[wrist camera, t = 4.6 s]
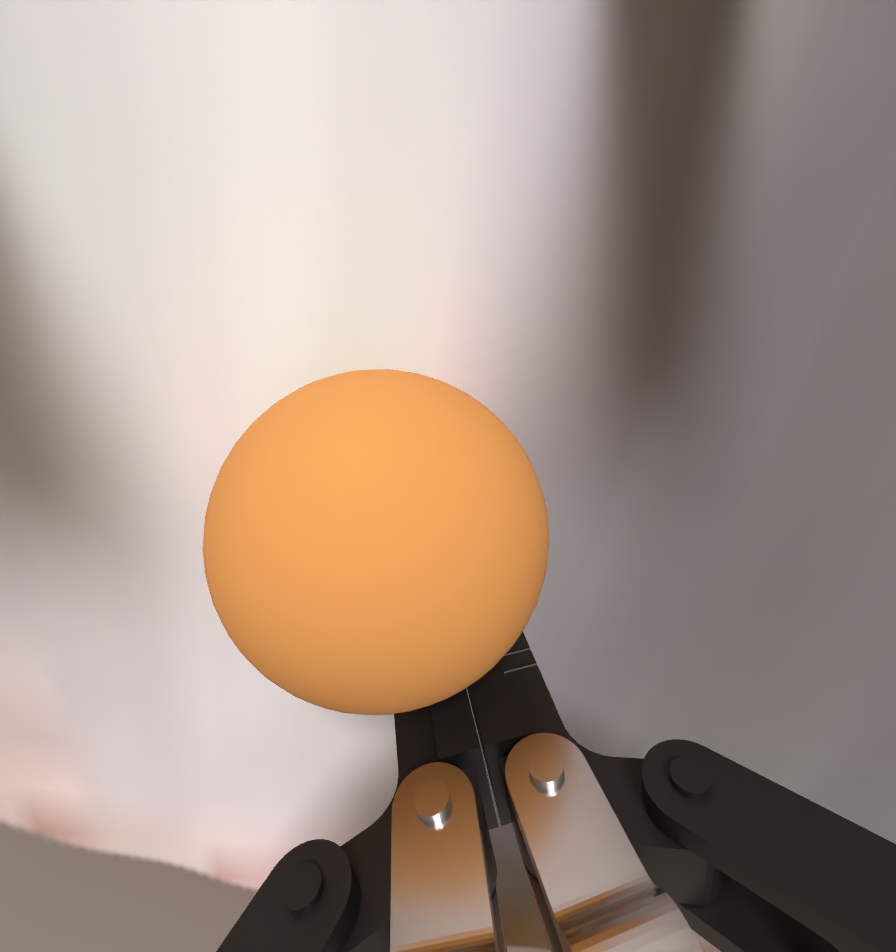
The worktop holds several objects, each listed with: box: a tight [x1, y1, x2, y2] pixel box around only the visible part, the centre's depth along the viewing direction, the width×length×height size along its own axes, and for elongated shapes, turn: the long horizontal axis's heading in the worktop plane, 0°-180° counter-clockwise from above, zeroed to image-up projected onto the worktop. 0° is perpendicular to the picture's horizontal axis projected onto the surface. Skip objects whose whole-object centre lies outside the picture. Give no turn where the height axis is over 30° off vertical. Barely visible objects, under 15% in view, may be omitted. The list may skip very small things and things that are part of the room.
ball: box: [203, 370, 549, 715], centre depth 8 cm, size 6×6×6 cm
